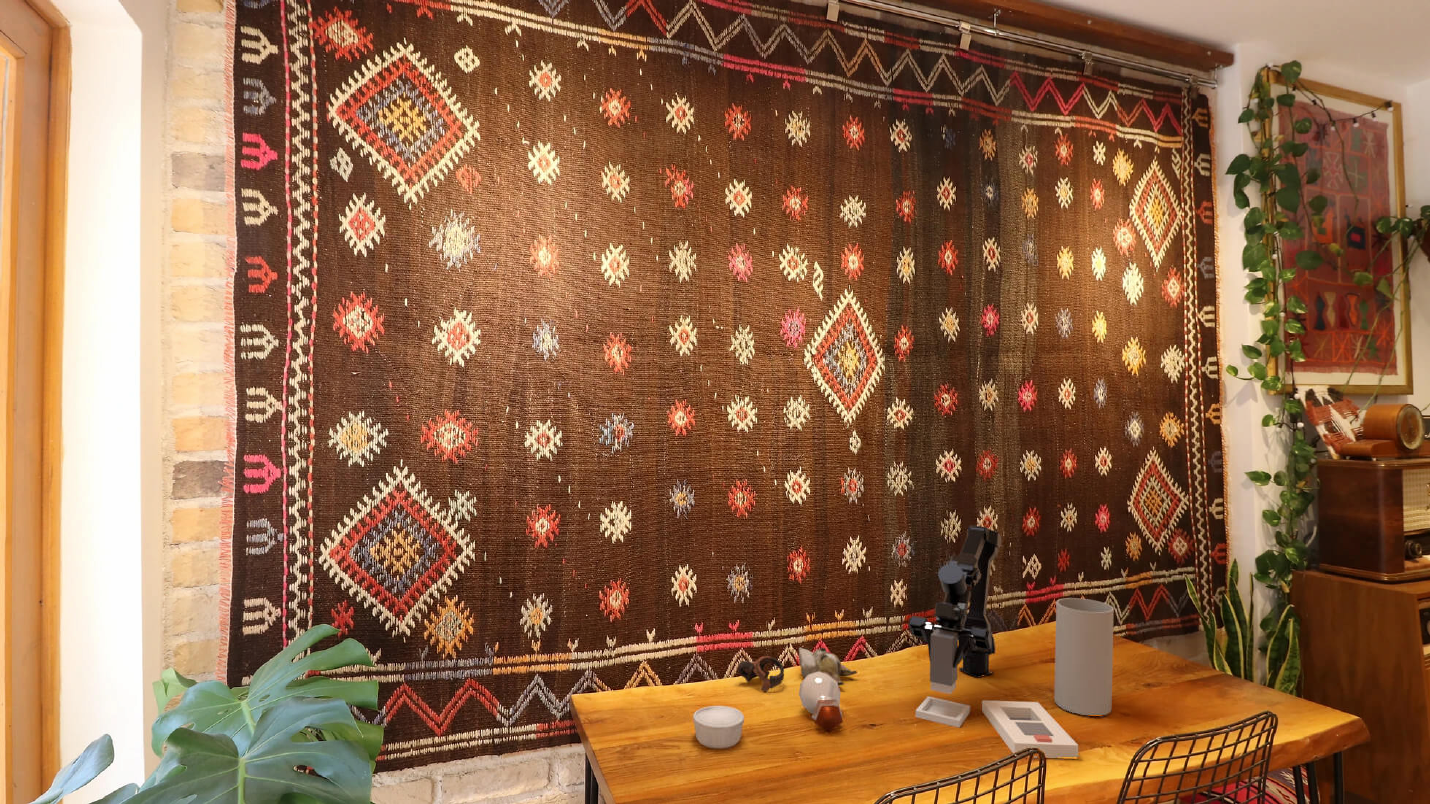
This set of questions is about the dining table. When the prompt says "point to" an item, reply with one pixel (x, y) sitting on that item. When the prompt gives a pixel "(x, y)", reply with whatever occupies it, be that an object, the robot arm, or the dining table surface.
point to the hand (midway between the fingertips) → (942, 664)
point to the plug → (943, 661)
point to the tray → (943, 711)
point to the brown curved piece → (762, 672)
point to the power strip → (1029, 728)
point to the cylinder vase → (1084, 656)
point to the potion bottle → (822, 699)
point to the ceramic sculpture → (822, 664)
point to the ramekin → (718, 726)
